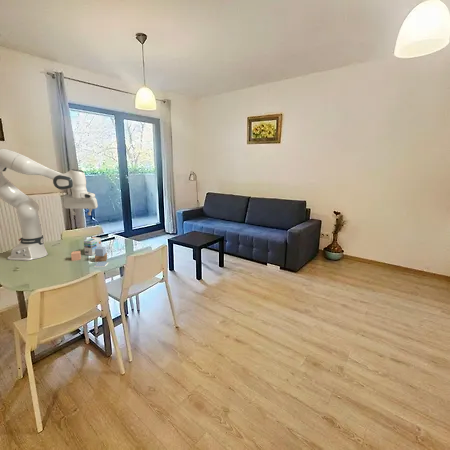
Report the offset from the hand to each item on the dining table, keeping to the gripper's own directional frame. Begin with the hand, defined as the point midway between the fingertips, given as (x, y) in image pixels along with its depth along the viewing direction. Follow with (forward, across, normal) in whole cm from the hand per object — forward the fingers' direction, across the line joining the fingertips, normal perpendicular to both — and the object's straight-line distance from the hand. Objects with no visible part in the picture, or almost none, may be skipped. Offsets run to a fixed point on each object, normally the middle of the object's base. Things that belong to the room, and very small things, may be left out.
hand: (81, 215), depth 170 cm
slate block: (+27, +11, -3) cm, 30 cm away
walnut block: (+31, +11, -3) cm, 33 cm away
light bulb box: (+31, +1, +11) cm, 33 cm away
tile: (+31, +14, -12) cm, 36 cm away
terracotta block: (+31, -6, -1) cm, 32 cm away
